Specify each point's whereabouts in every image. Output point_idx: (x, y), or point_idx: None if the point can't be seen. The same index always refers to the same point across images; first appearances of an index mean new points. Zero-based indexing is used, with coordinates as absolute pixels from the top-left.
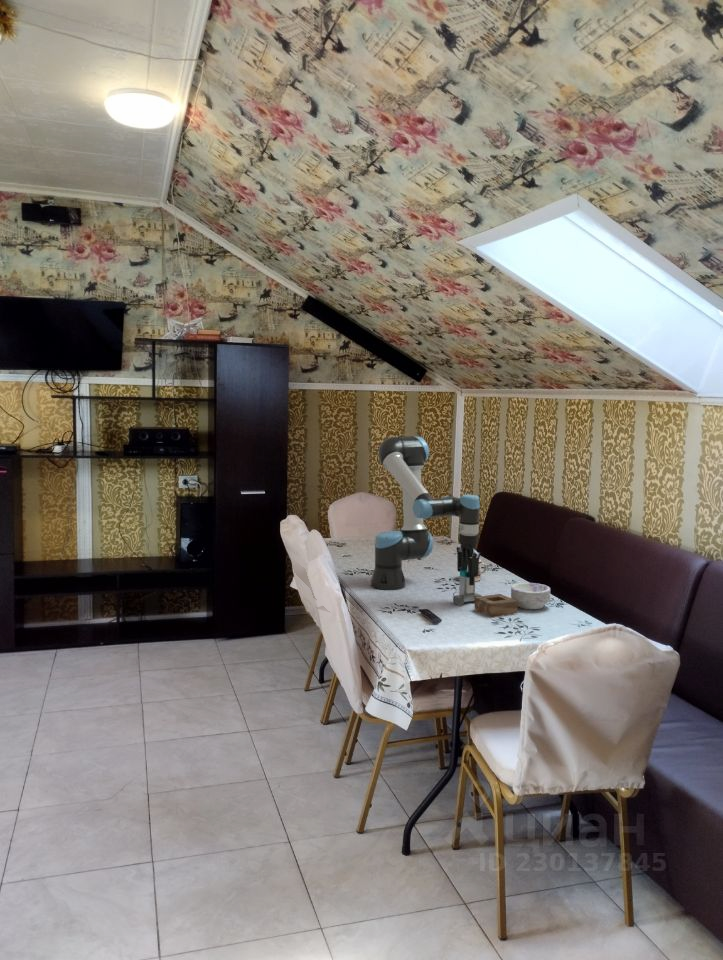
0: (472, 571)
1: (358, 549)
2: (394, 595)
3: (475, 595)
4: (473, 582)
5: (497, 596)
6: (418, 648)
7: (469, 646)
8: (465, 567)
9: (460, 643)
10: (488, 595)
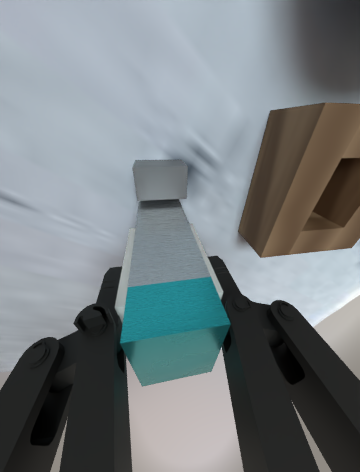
0: (294, 377)
1: None
2: (40, 334)
3: (179, 197)
4: (225, 271)
5: (333, 164)
6: None
7: (342, 306)
8: (120, 404)
9: (327, 310)
10: (287, 198)
